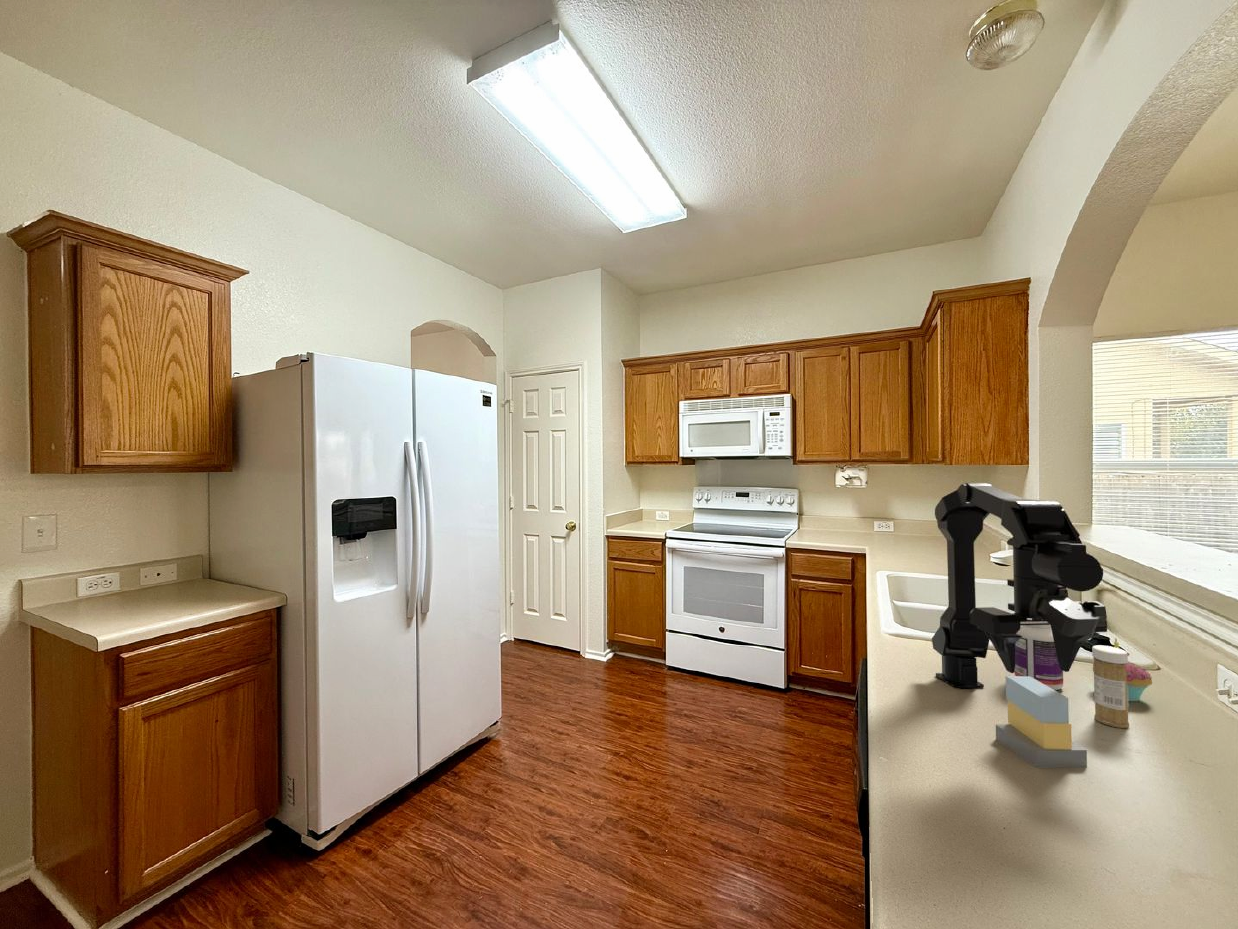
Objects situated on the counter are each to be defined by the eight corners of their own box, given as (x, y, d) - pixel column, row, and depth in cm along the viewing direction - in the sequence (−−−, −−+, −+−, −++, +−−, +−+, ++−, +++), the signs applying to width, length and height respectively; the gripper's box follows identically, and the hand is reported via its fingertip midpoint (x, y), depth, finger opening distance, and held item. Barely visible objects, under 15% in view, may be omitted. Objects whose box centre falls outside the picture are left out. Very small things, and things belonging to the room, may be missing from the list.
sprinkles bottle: (1132, 724, 88) (1130, 649, 89) (1125, 732, 86) (1123, 655, 86) (1097, 714, 92) (1096, 642, 92) (1090, 721, 90) (1088, 647, 90)
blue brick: (1006, 699, 85) (1005, 675, 85) (1030, 699, 84) (1030, 676, 84) (1041, 722, 77) (1040, 697, 77) (1068, 723, 76) (1068, 697, 76)
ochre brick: (1008, 722, 84) (1007, 699, 85) (1032, 723, 84) (1032, 700, 84) (1044, 749, 77) (1043, 723, 77) (1071, 749, 76) (1071, 724, 76)
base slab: (995, 742, 84) (995, 724, 84) (1041, 741, 84) (1040, 723, 84) (1037, 770, 76) (1036, 751, 76) (1087, 769, 76) (1086, 750, 76)
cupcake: (1142, 709, 94) (1141, 647, 94) (1084, 692, 101) (1083, 634, 101) (1159, 699, 98) (1157, 639, 98) (1102, 683, 105) (1101, 627, 105)
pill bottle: (1068, 686, 104) (1067, 618, 104) (1056, 696, 99) (1055, 625, 100) (1021, 673, 111) (1020, 609, 111) (1008, 682, 106) (1007, 616, 106)
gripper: (1022, 589, 72) (1025, 695, 72) (1143, 587, 73) (1146, 692, 73) (966, 573, 84) (968, 665, 83) (1072, 572, 84) (1074, 663, 84)
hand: (1037, 671), depth 81 cm, fingers open, 9 cm apart
